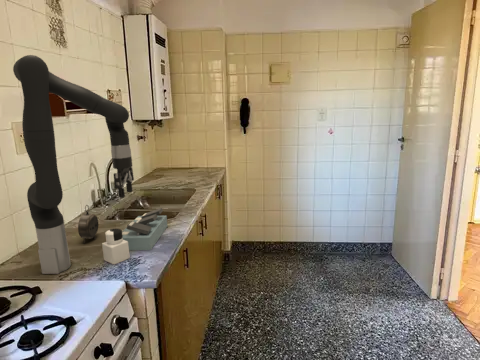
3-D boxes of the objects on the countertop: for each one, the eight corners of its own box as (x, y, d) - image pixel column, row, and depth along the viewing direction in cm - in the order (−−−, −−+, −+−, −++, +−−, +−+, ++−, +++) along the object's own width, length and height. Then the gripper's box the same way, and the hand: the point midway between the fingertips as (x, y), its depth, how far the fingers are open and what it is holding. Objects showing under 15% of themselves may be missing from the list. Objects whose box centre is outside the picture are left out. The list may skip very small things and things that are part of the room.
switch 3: (147, 234, 142) (148, 231, 142) (126, 228, 142) (127, 225, 142) (151, 230, 147) (152, 226, 147) (130, 224, 147) (131, 220, 146)
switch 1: (160, 214, 159) (158, 210, 159) (142, 220, 160) (140, 216, 160) (162, 210, 164) (161, 207, 163) (145, 216, 165) (144, 213, 165)
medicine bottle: (120, 253, 139) (116, 225, 136) (130, 258, 135) (126, 229, 132) (103, 260, 134) (99, 231, 131) (113, 265, 129) (109, 235, 127)
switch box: (150, 249, 141) (149, 234, 140) (117, 250, 142) (115, 235, 141) (167, 226, 168) (166, 213, 166) (139, 226, 168) (137, 213, 167)
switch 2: (154, 220, 150) (152, 217, 150) (135, 227, 151) (134, 223, 151) (157, 217, 155) (156, 213, 155) (139, 223, 156) (138, 219, 156)
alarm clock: (91, 234, 160) (86, 201, 157) (102, 234, 160) (97, 201, 156) (79, 244, 150) (73, 209, 146) (91, 244, 149) (86, 208, 146)
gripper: (123, 158, 131) (128, 199, 135) (136, 153, 145) (140, 190, 149) (104, 159, 132) (109, 199, 136) (119, 153, 146) (123, 190, 150)
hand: (126, 194), depth 142 cm, fingers open, 8 cm apart
